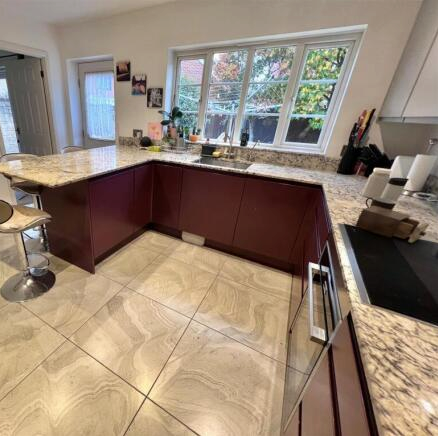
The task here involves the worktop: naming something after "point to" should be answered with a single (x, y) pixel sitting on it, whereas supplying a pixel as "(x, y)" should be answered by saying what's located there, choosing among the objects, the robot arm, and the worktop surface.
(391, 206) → the coffee mug
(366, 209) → the cabinet
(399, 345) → the worktop surface
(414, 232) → the drawer
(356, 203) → the worktop surface
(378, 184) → the jar
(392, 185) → the travel mug
